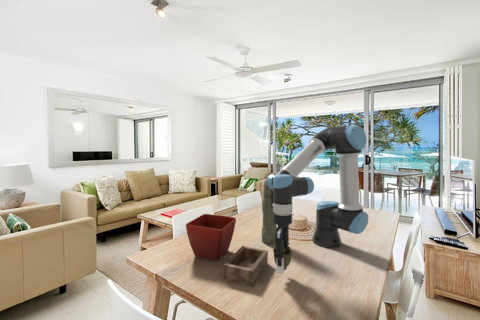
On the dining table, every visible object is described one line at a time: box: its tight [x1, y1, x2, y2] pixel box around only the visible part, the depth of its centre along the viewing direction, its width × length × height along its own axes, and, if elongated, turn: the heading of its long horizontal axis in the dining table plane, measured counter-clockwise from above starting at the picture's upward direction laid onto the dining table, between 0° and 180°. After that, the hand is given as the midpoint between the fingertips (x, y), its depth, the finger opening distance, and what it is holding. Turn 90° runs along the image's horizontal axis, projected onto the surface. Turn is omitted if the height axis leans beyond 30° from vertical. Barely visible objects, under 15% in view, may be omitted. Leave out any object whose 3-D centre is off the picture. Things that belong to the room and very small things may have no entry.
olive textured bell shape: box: [272, 247, 293, 271], centre depth 96 cm, size 8×7×8 cm
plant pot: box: [185, 213, 237, 262], centre depth 118 cm, size 19×19×17 cm
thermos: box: [261, 179, 278, 245], centre depth 134 cm, size 9×12×35 cm
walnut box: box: [223, 245, 269, 287], centre depth 102 cm, size 13×20×6 cm, turn 157°
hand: (282, 268), depth 97 cm, fingers closed on olive textured bell shape, 7 cm apart
